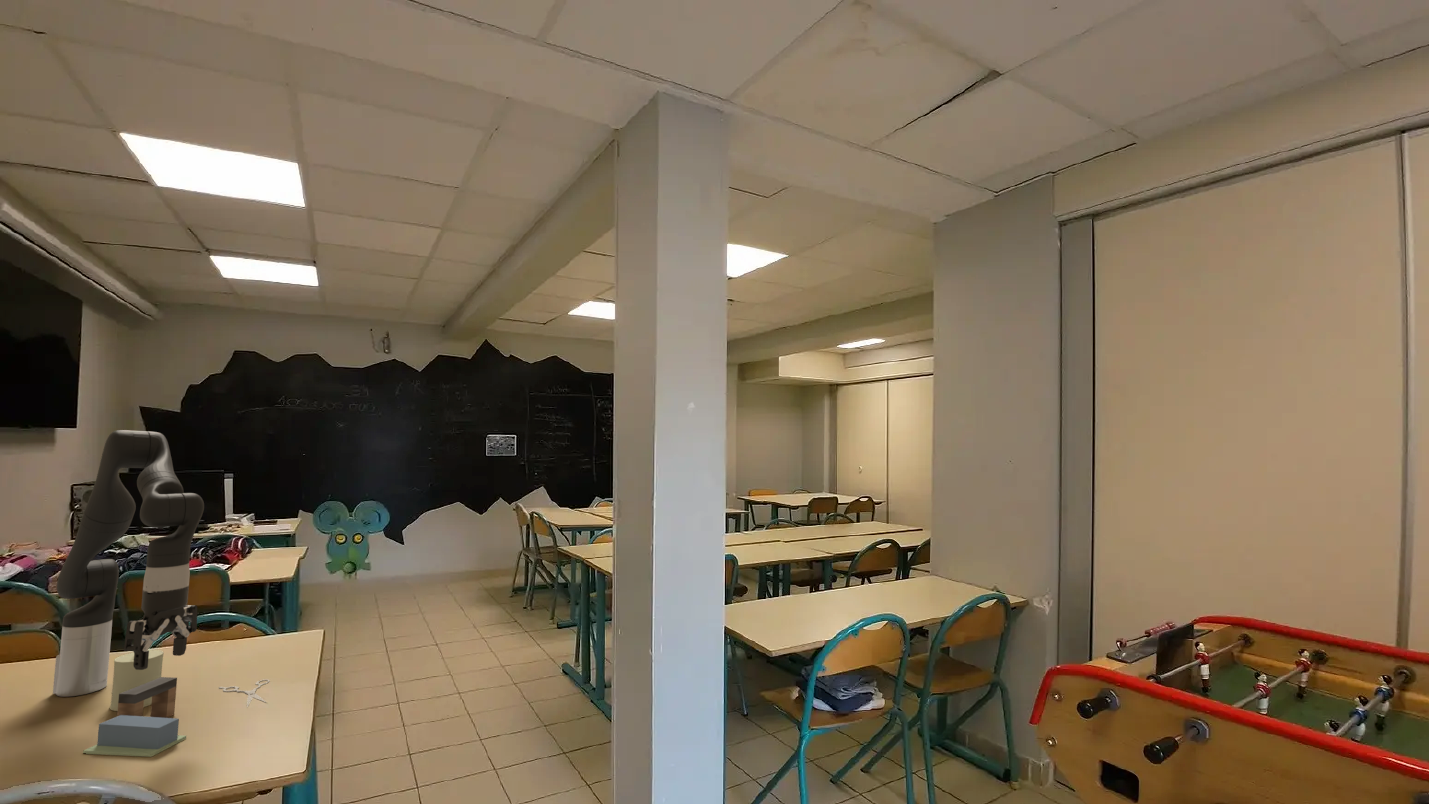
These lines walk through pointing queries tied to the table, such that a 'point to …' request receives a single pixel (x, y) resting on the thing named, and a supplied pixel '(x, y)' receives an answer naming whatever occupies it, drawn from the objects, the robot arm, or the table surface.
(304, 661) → the table surface
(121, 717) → the blue slab
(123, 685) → the can
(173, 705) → the block arch
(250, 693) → the scissors
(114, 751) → the pad
